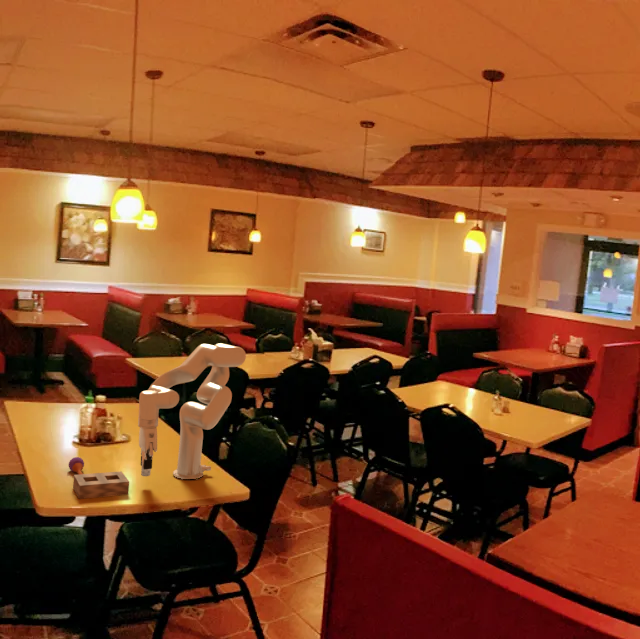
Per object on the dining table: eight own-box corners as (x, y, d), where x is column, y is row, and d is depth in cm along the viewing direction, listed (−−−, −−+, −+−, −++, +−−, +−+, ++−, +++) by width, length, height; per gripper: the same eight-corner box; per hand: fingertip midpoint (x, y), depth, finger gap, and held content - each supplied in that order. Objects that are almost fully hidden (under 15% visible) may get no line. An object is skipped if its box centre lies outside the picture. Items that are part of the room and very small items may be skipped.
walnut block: (120, 483, 258) (121, 471, 257) (128, 494, 247) (129, 481, 247) (73, 487, 248) (73, 474, 248) (78, 498, 238) (79, 485, 238)
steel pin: (148, 472, 259) (150, 448, 258) (151, 475, 256) (152, 451, 255) (140, 473, 257) (141, 449, 256) (142, 476, 254) (143, 452, 253)
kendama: (74, 476, 250) (66, 456, 267) (76, 490, 251) (68, 470, 268) (90, 472, 252) (81, 453, 270) (92, 486, 254) (83, 466, 271)
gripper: (163, 427, 249) (161, 473, 251) (151, 415, 263) (149, 459, 265) (144, 428, 245) (142, 475, 247) (133, 417, 259) (131, 461, 261)
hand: (146, 466), depth 256 cm, fingers closed on steel pin, 3 cm apart
